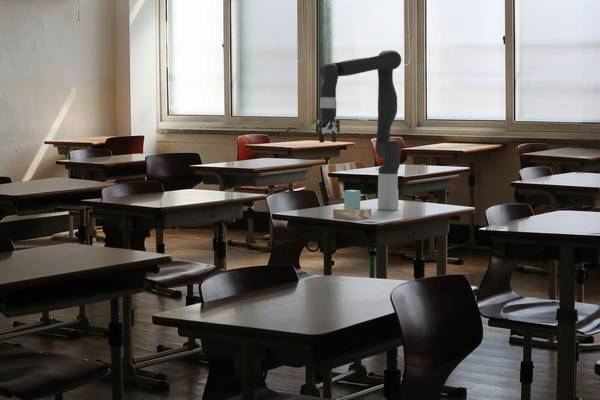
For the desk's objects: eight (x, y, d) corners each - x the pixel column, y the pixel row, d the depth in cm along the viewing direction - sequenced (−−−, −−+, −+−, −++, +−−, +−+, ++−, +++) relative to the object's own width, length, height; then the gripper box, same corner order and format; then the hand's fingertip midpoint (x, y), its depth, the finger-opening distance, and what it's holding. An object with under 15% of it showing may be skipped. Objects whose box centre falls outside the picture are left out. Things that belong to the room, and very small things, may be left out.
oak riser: (350, 215, 451) (350, 206, 451) (371, 217, 443) (371, 208, 443) (332, 217, 442) (333, 208, 442) (354, 220, 434) (354, 210, 434)
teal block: (351, 207, 446) (351, 189, 445) (360, 208, 443) (360, 190, 442) (344, 208, 442) (344, 190, 442) (353, 209, 439) (353, 191, 438)
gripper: (324, 107, 456) (323, 143, 457) (344, 107, 466) (343, 142, 468) (311, 107, 461) (311, 142, 462) (332, 107, 471) (331, 141, 473)
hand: (327, 142), depth 465 cm, fingers open, 8 cm apart
